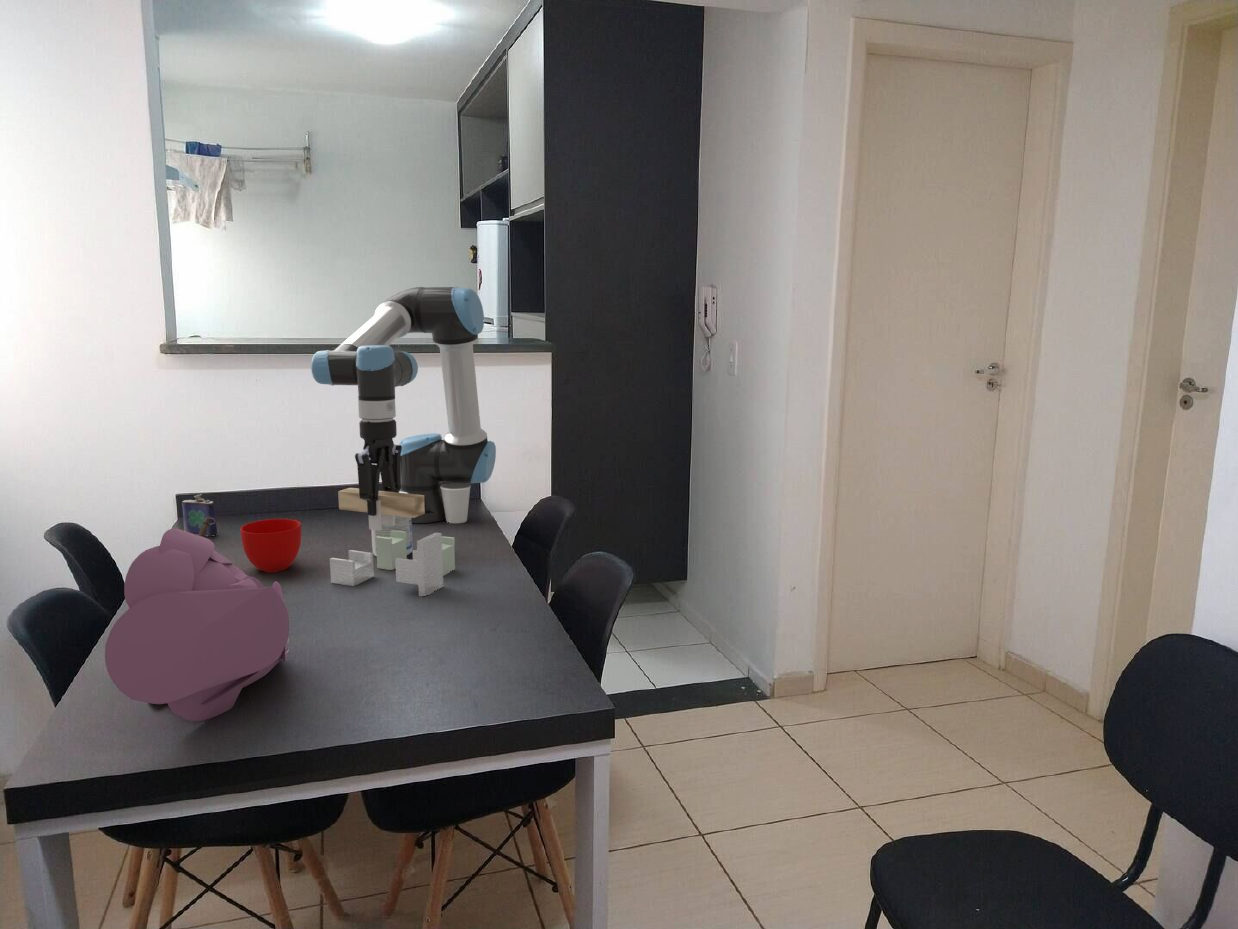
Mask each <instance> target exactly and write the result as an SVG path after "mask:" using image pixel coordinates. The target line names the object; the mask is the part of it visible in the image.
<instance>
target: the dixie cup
mask: <svg viewBox="0 0 1238 929" xmlns="http://www.w3.org/2000/svg"><path fill="white" fill-rule="evenodd" d="M471 485H472V484H471V483H462V482H448V483H447V482H446V483H444V484H443V485H441V486H440V488H441V491H442V497H443V504H444V510H445V516H446V519H445V522H446V521H447V522H446V523H448V522H449V523H448V524H463V523H466V522H467V521H468V513H469V512H468V511H469V501H470V495H471V494H470V492H471V487H472V486H471Z"/></svg>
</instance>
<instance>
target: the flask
mask: <svg viewBox="0 0 1238 929" xmlns="http://www.w3.org/2000/svg"><path fill="white" fill-rule="evenodd" d="M202 496H203V494H202V493H200V494H197V495H193V498H195V499H194V500H193V499H184V500H183V501H181V506H182V516H183V531H186V532H189V533H192V534H199V532H200V529H201V528H202V527H203V523H204V520H205V521H206V518H207V517H210V522H209V526H207V532H206V534H205V535H208V536H212V535H216V534H217V535H218V528H217V527H218V526H217V520H216V510H215V502H214V501H213V500H210V499H207V500H205V499H204V498H203V497H202ZM211 518H213V519H211ZM214 519H215V521H214ZM214 522H215V523H214ZM212 523H214V524H212ZM210 524H211V525H210ZM208 536H207V537H208Z"/></svg>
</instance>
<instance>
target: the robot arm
mask: <svg viewBox="0 0 1238 929" xmlns="http://www.w3.org/2000/svg"><path fill="white" fill-rule="evenodd" d="M484 320H485V314H484V309H483V304H482V302H481V299H480V297H479V295H478V294H477V292H476V291H475V290H474V289H472V288H468V287H459V286H456V287H455V286H444V287H442V286H440V287H439V286H438V287H437V286H435V287H432V286H430V287H423V286H420V287H419V286H418V287H417V286H416V287H412V288H408V289H405V290H403V291H400V292H398V293H396V294H394V295H392V296H390V297H389V298H387V299H386V300H384V301H383V302H381V303H380V304H379V305H378V306H377V308H376V309H375V311H374V315H373V316H372V317H370V318H369V319H368V320H367V321H366V322H364V324H363V325H361V326H360V327H359V328H358V329H356V330H355V331H354V332H353V333H352V334H351V335H350V336H349V337H347V338H346V339H345V340H344V341H343V342H342V343H341V344H340V345H338V346H336V348H335V349H334V350H329V349H326V350H319V351H315V353H314V354H313V356H312V359H311V363H310V368H311V370H310V371H311V375H312V378H313V379H314V381H315V382H316V383H318V384H321V385H330V386H357V393H358V396H357V398H358V399H357V400H358V402H357V404H358V406H357V407H358V418H359V419H361V420H360V421H359V424H358V425H359V438H361V439H363V441H364V444H363V448H362V449H363V450H362V451H361V452H357V453H355V454H354V458H355V462H356V466H357V480H358V489H359V496H360V499H363V500H367V508H368V509H367V510H368V513H367V517H368V530H370V531H371V530H378V531H380V530H382V524H385V525H395V516H393V515H385V514H382V521H381V500H378V491H380V490H379V489H380V478H381V484H382V491H387V492H397V493H399V491H402V492H407V493H409V494H416V495H424V507H425V514H422V515H420V516H417V517H415V518H411V522H412V524H425V523H427V524H428V523H436V522H440V521H445V520H446V516H445V510H444V504H443V497H442V491H441V488H440V486H441V485H443V482H445V483H447V482H448V483H467V484H470V485H473V484H484V483H486V482H488V481H489V480H490V479H491V476H492V475H493V471H494V468H495V463H496V457H497V456H496V455H497V447H496V445H495V442H494V441H491V440H488V433H487V432H486V431H485V430H484V429H482V426H481V419H480V418H481V417H480V416H481V415H480V406H479V405H480V404H479V396H478V387H477V385H478V384H477V376H476V365H475V355H474V353H475V352H474V344H475V342H477V341H478V339H479V338H478V337H479V336H478V335H479V334H481V333H482V332H483V329H484V327H485V326H484V325H485V323H484ZM412 333H419V334H420V333H423V334H431V335H432V336H431V338H432V342H433V343H434V345H436V346H438V348H439V352H440V353H439V355H440V363H441V371H442V372H441V373H442V381H443V387H444V388H443V389H444V398H445V407H446V415H447V425H448V432H447V433H446V434H445V435H444V437H442V434H441V433H435V432H434V433H425V434H418V435H417V434H416V435H413V436H408V437H405V438H403V439H402V440H400V442H399V444H395V443H394V440H393V439H395V438H396V437H397V433H398V432H397V421H396V419H395V417H397V415H396V414H397V413H396V387H404V386H406V385H407V384H410V383H411V382H413V381H414V380H415V378H416V377H417V375H418V372H419V367H418V362H417V360H416V358H415V357H414V355H412V354H410V353H409V352H407V351H403V350H394V349H393V347H392V346H391V344H392V343H393V342H394V341H395V340H396V339H400V338H403V337H405V336H406V335H408V334H412ZM443 438H444V439H443Z"/></svg>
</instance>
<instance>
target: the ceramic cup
mask: <svg viewBox="0 0 1238 929" xmlns="http://www.w3.org/2000/svg"><path fill="white" fill-rule="evenodd" d="M240 536H241V537H240V538H241V543H242V548H243V550H244V553H245V556H246V558H247V560H248V561H249V562H250V563H251V564H252V565H253V566H254V567H255V568H256V569H258V570H257V571H259V570H261V571H260V572H262V571H266V572H265V573H277V572H280V571H281V570H282V571H285V570H287V569H288V568H289V567H290V566H291V565H292V563H293V562H294V560H296V557H297V556H298V554H299V551H300V548H301V541H302V524H301V522H300V521H298V520H295V519H289V518H270V519H262V520H256V521H252V522H249V523H246V524H244V525H242V526H241V527H240ZM275 571H276V572H275Z"/></svg>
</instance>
